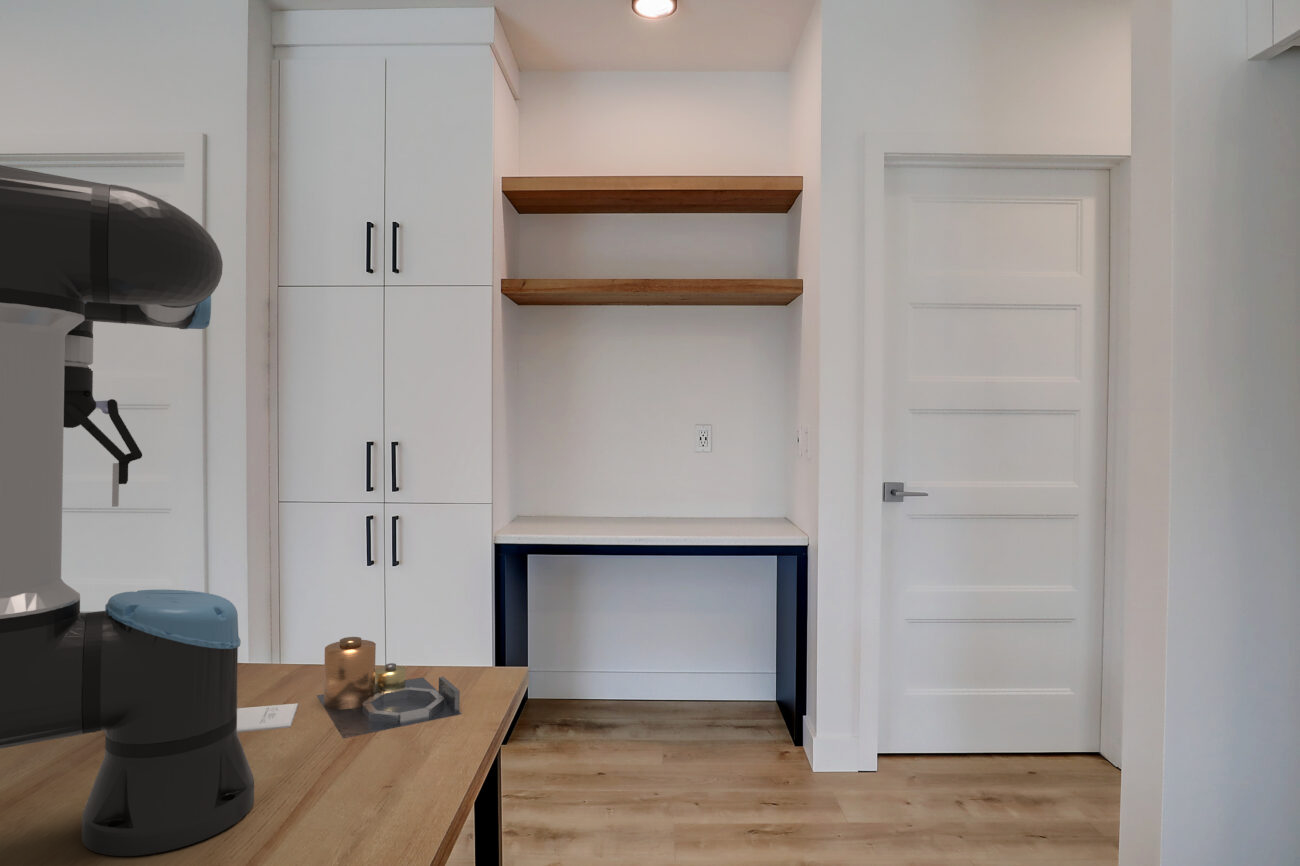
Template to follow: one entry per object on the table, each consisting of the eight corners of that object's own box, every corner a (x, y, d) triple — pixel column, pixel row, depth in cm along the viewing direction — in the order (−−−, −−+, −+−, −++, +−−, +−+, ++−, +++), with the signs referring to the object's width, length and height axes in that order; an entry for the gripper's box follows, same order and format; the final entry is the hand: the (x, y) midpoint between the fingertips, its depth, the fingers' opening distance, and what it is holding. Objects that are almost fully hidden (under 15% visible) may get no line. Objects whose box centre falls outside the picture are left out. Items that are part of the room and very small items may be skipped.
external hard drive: (200, 721, 104) (298, 712, 108) (184, 746, 96) (290, 735, 100) (201, 710, 104) (298, 701, 108) (184, 733, 96) (290, 723, 100)
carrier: (462, 717, 106) (462, 687, 106) (343, 741, 97) (343, 709, 97) (422, 680, 121) (423, 653, 121) (316, 698, 112) (317, 670, 112)
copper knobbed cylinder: (380, 703, 109) (381, 642, 109) (329, 712, 105) (330, 649, 105) (368, 688, 115) (369, 630, 115) (319, 697, 111) (320, 637, 111)
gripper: (161, 371, 121) (159, 502, 121) (-47, 361, 107) (-49, 508, 107) (162, 369, 115) (159, 506, 115) (-59, 357, 101) (-61, 514, 101)
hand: (59, 507), depth 111 cm, fingers open, 13 cm apart
